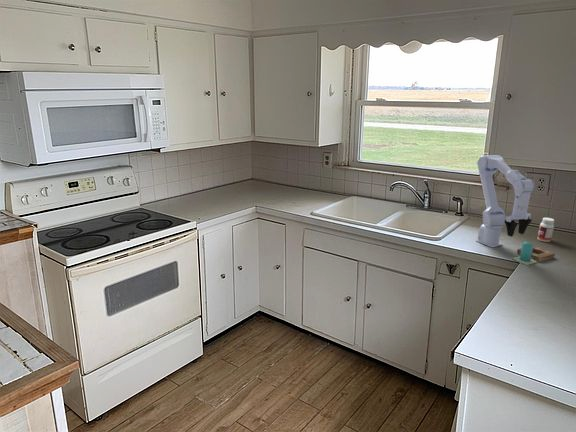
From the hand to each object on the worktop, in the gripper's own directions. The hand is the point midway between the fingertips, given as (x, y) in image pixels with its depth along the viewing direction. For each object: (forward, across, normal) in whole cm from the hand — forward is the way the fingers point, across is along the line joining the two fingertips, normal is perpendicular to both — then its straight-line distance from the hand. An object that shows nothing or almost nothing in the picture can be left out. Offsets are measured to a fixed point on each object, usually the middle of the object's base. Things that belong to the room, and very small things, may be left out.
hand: (515, 234), depth 200 cm
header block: (+10, +11, -4) cm, 15 cm away
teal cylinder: (+10, 0, -6) cm, 12 cm away
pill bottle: (+10, +34, +7) cm, 36 cm away
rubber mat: (+10, 0, -6) cm, 12 cm away
